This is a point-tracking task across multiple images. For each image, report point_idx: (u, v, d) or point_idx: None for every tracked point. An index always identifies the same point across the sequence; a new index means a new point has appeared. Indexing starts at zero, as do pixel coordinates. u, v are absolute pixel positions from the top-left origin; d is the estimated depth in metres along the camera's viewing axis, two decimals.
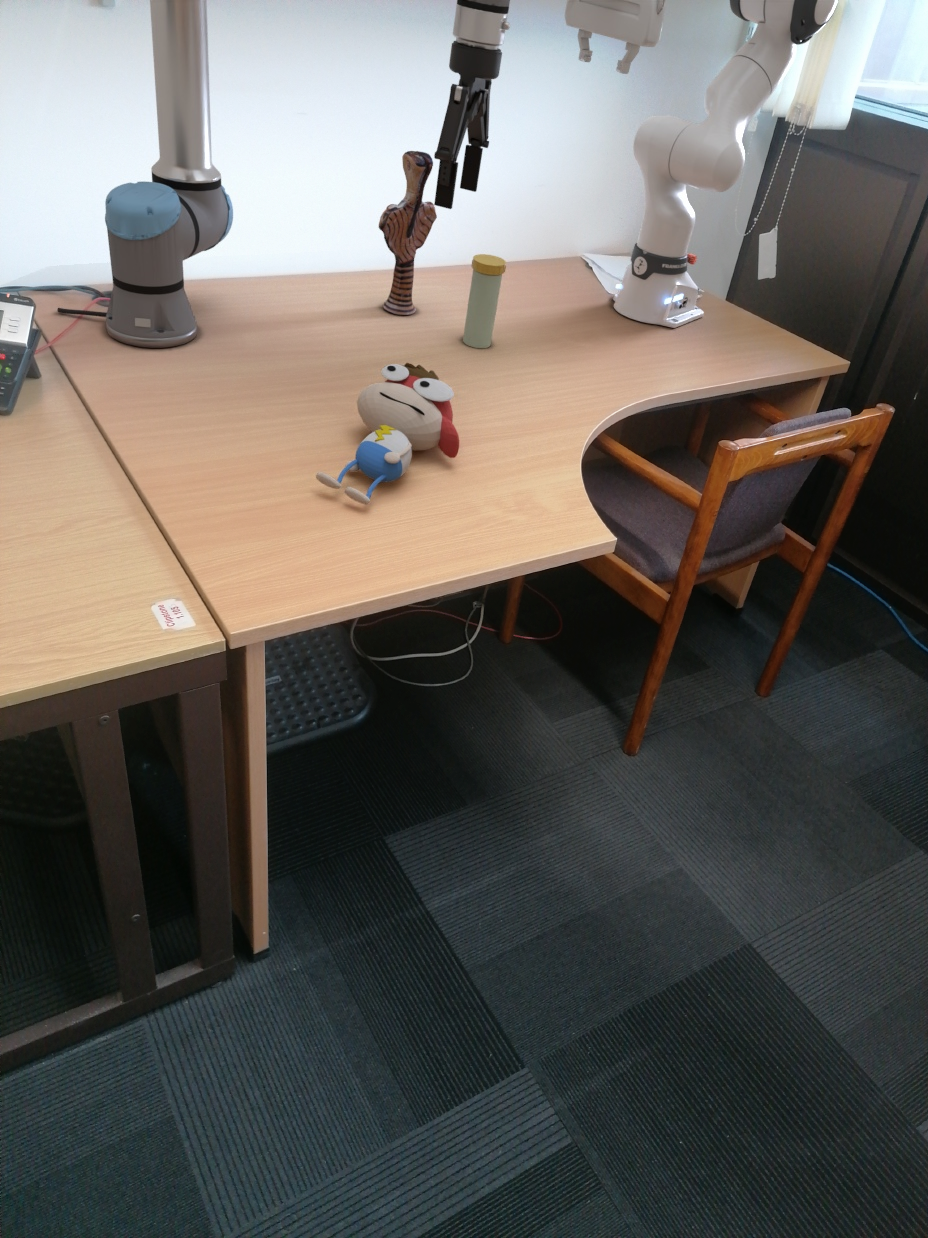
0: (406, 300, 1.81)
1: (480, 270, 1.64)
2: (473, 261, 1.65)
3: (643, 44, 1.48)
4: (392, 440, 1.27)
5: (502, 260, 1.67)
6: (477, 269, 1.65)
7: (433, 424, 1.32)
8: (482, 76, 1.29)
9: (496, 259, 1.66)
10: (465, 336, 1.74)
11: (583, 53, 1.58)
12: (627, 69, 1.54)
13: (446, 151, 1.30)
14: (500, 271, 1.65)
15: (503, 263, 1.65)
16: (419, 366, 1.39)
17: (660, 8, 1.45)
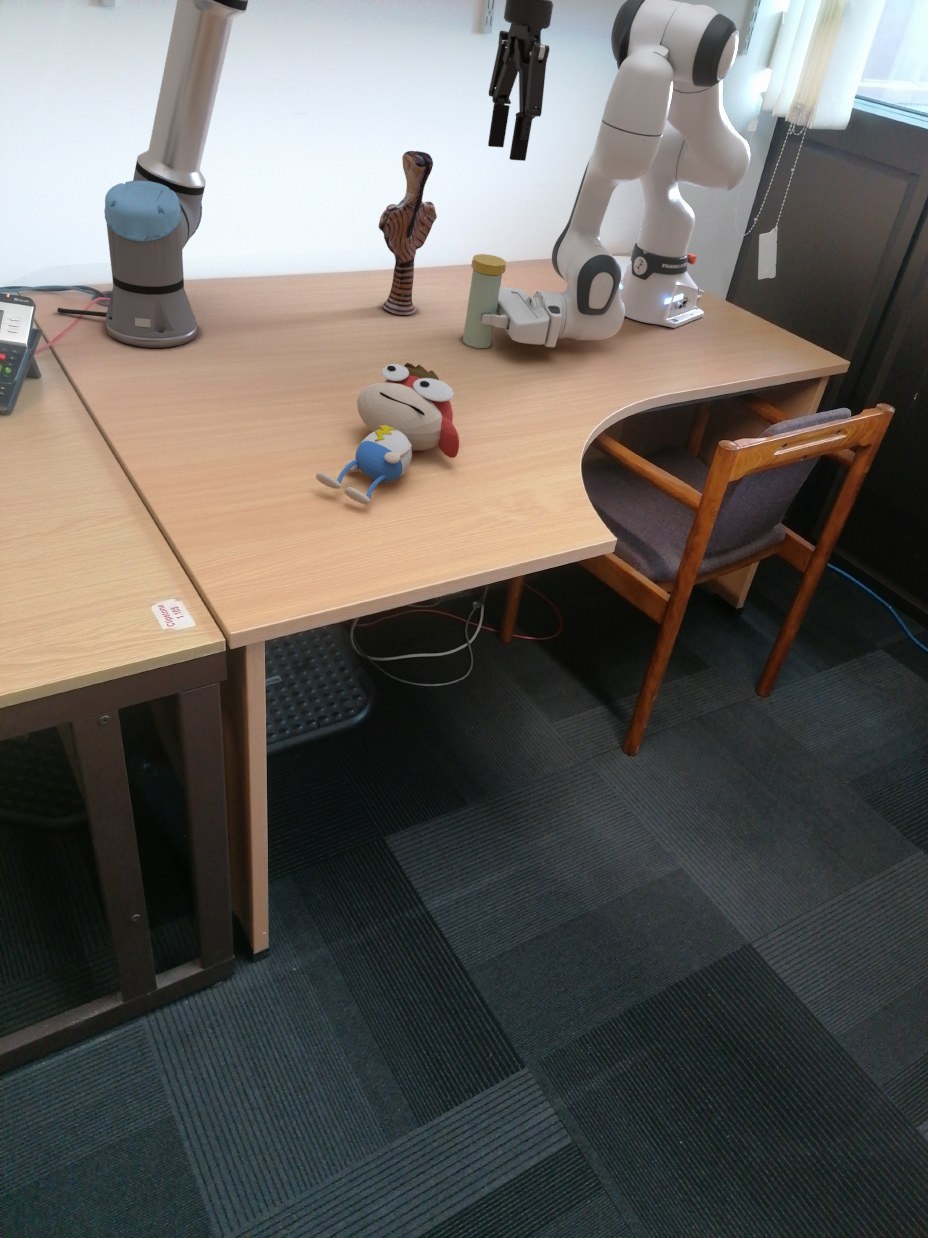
0: (406, 300, 1.81)
1: (480, 270, 1.64)
2: (473, 261, 1.65)
3: None
4: (392, 440, 1.27)
5: (502, 260, 1.67)
6: (477, 269, 1.65)
7: (433, 424, 1.32)
8: None
9: (496, 259, 1.66)
10: (465, 336, 1.74)
11: None
12: None
13: None
14: (500, 271, 1.65)
15: (503, 263, 1.65)
16: (419, 366, 1.39)
17: None
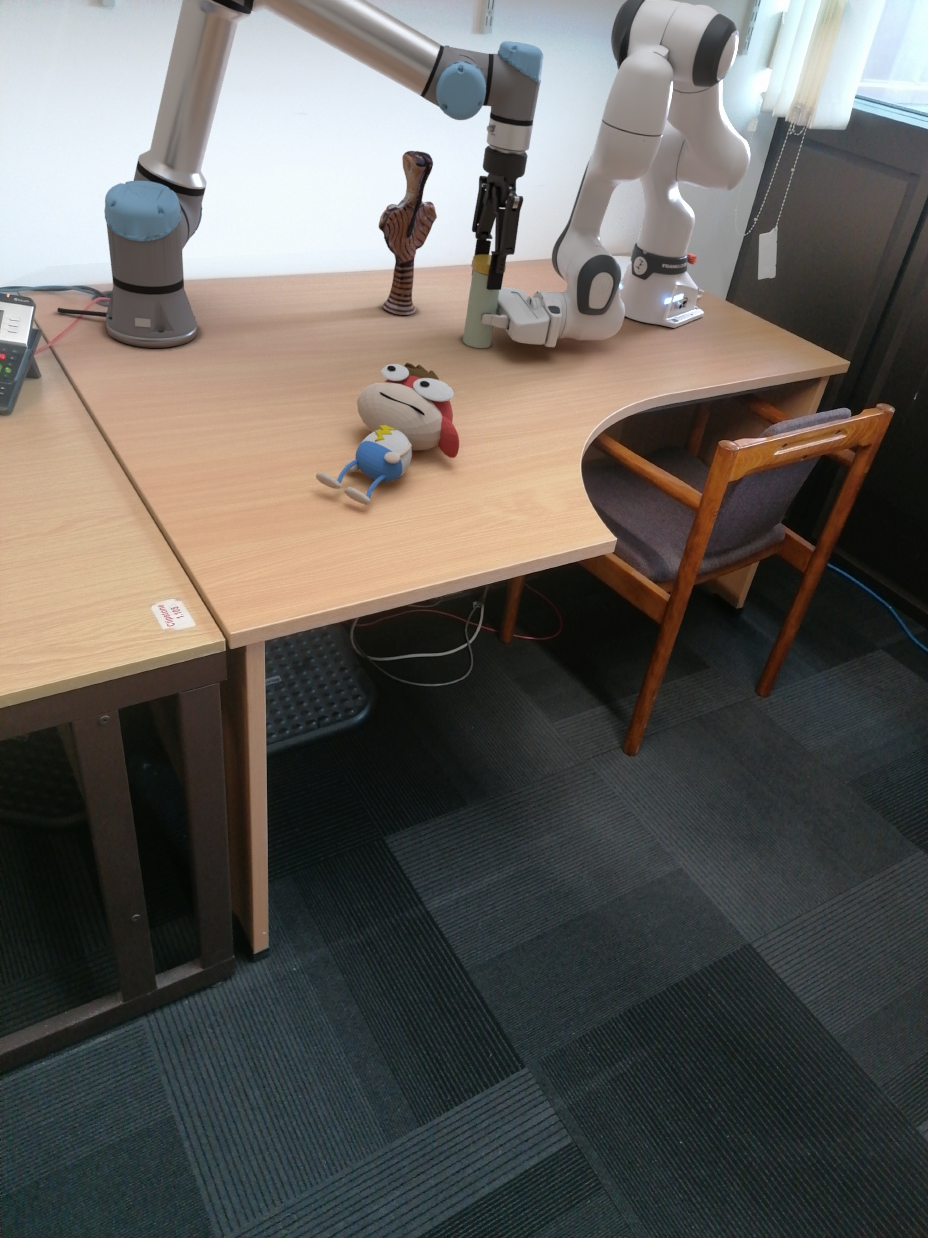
0: (406, 300, 1.81)
1: (480, 270, 1.64)
2: (473, 261, 1.65)
3: None
4: (392, 440, 1.27)
5: None
6: (477, 269, 1.65)
7: (433, 424, 1.32)
8: None
9: None
10: (465, 336, 1.74)
11: None
12: None
13: (477, 225, 1.68)
14: None
15: None
16: (419, 366, 1.39)
17: None
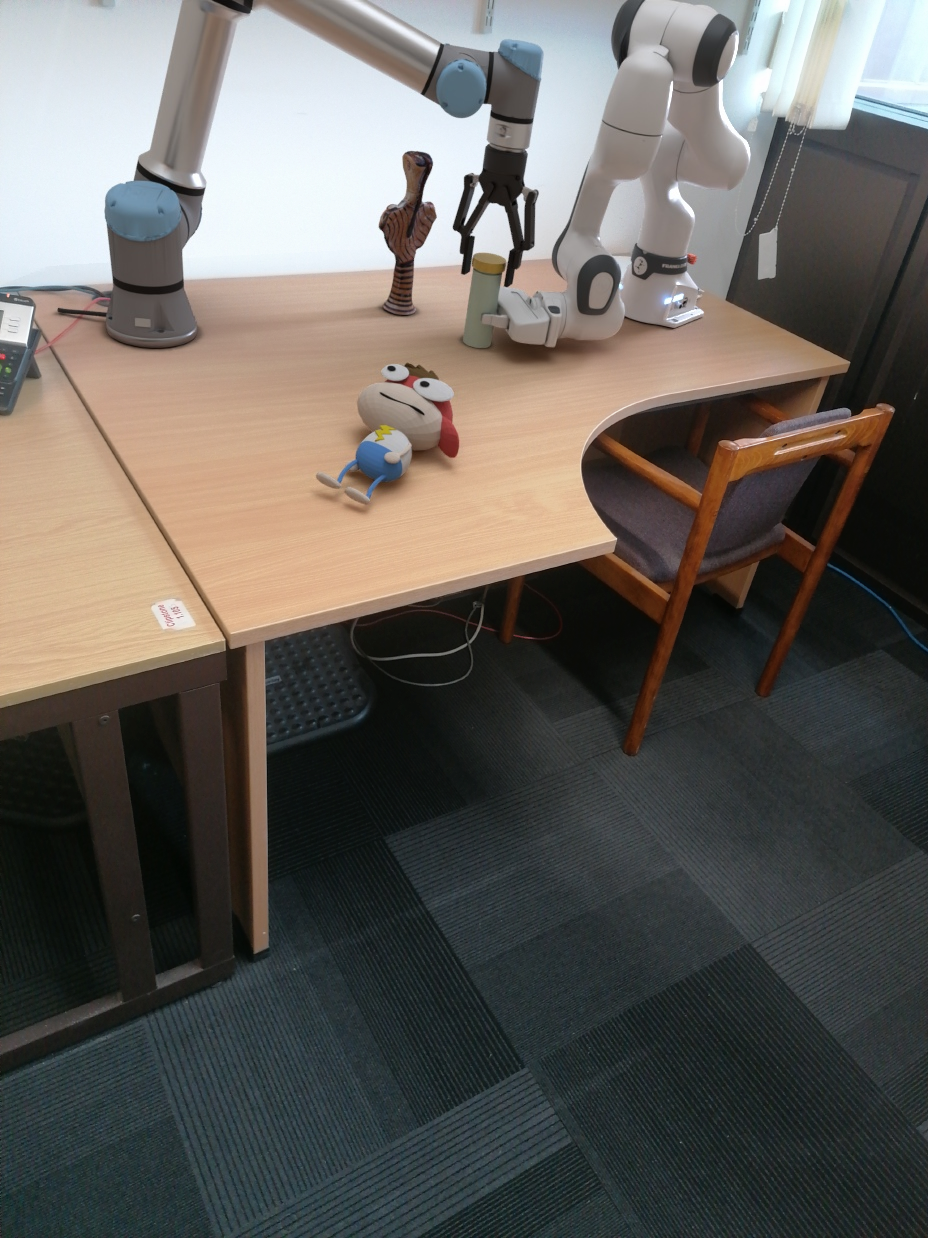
0: (406, 300, 1.81)
1: (504, 269, 1.66)
2: (496, 266, 1.64)
3: None
4: (392, 440, 1.27)
5: (483, 253, 1.67)
6: (502, 270, 1.65)
7: (433, 424, 1.32)
8: (483, 166, 1.55)
9: (485, 255, 1.67)
10: (465, 336, 1.74)
11: None
12: None
13: None
14: None
15: (492, 254, 1.68)
16: (419, 366, 1.39)
17: None
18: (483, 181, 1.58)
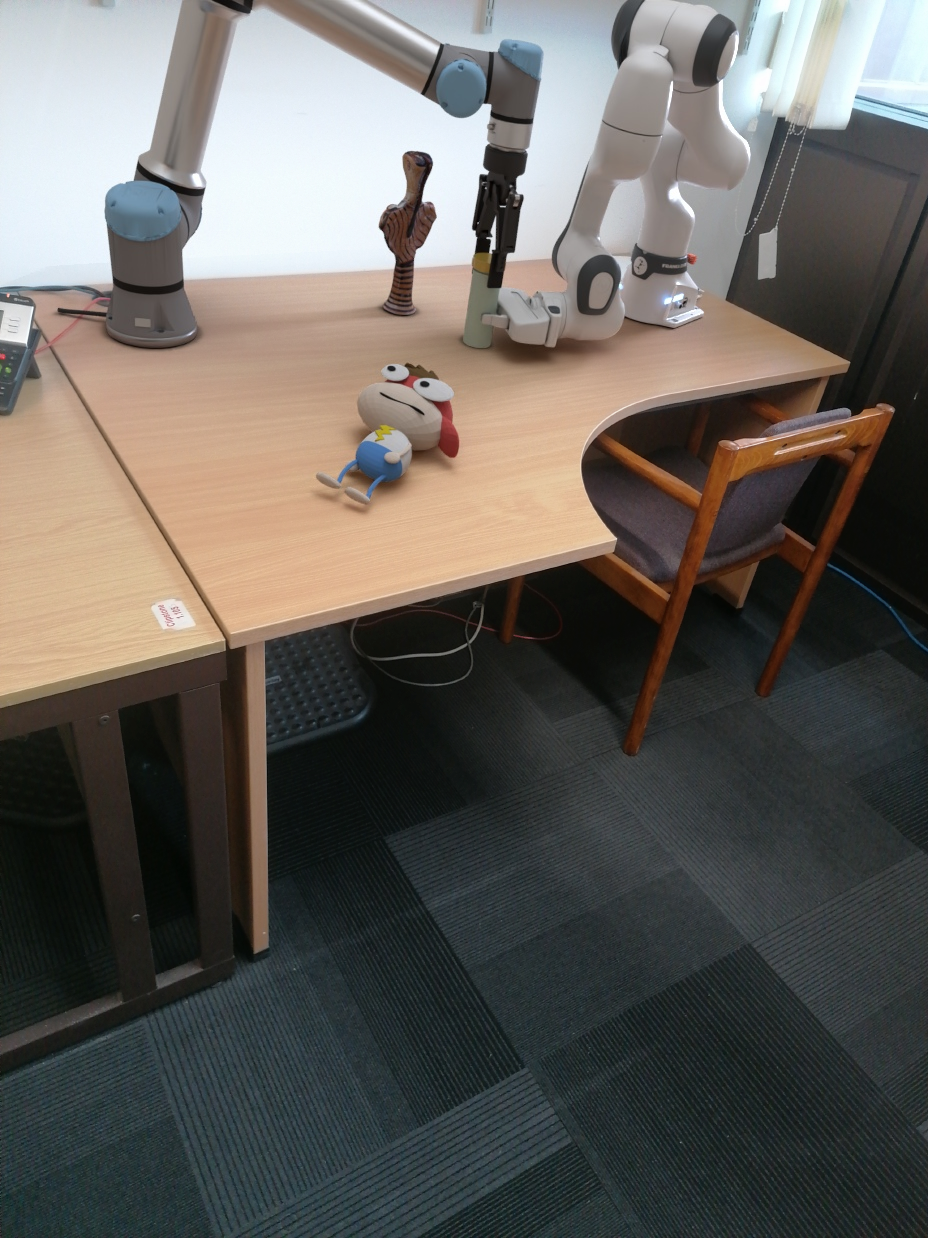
0: (406, 300, 1.81)
1: None
2: None
3: None
4: (392, 440, 1.27)
5: (483, 253, 1.67)
6: None
7: (433, 424, 1.32)
8: None
9: (485, 255, 1.67)
10: (465, 336, 1.74)
11: None
12: None
13: None
14: None
15: None
16: (419, 366, 1.39)
17: None
18: (488, 179, 1.59)
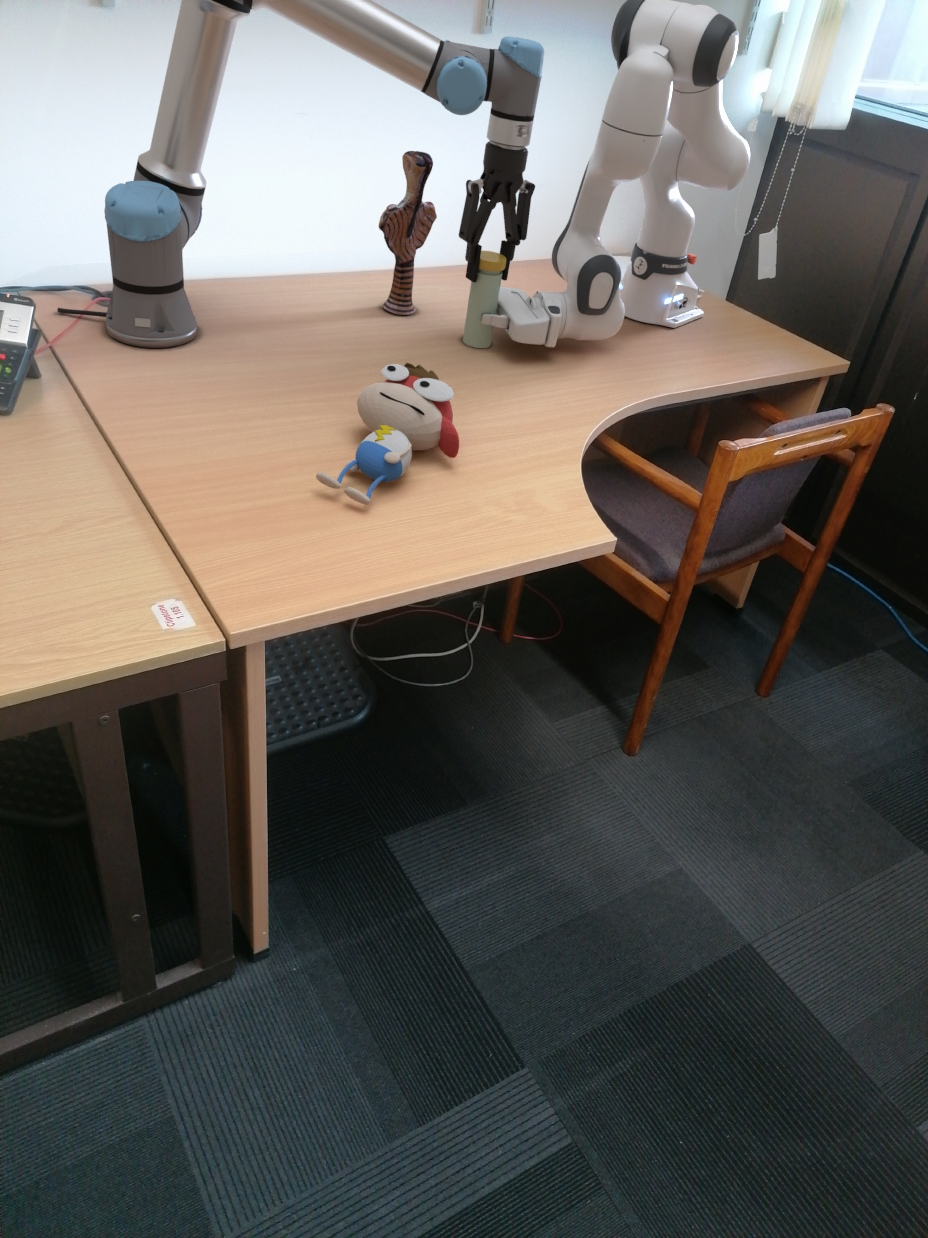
0: (406, 300, 1.81)
1: None
2: None
3: None
4: (392, 440, 1.27)
5: None
6: None
7: (433, 424, 1.32)
8: (496, 169, 1.53)
9: (483, 256, 1.64)
10: (465, 336, 1.74)
11: None
12: None
13: (464, 234, 1.59)
14: None
15: None
16: (419, 366, 1.39)
17: None
18: (491, 183, 1.55)
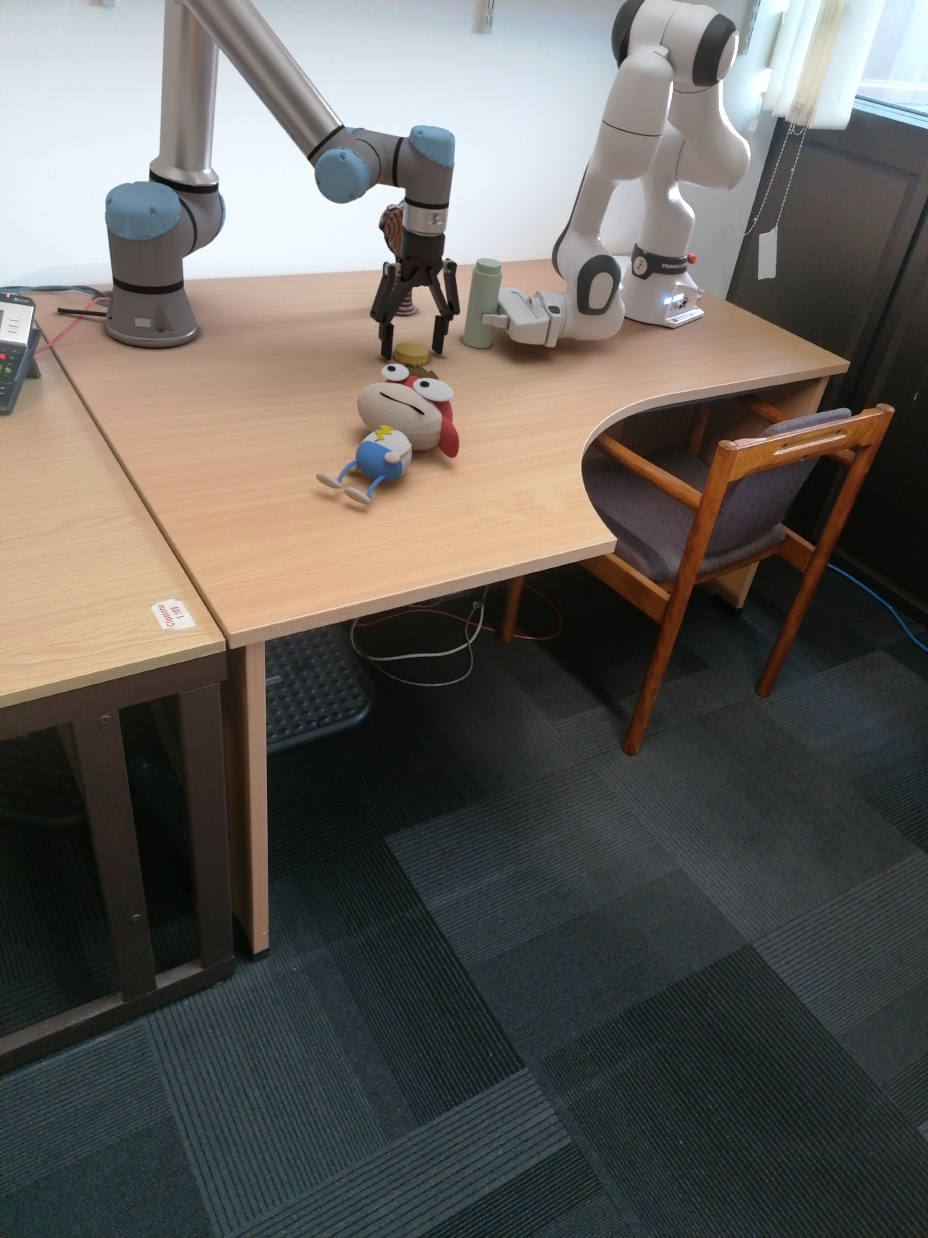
0: (406, 300, 1.81)
1: None
2: None
3: None
4: (392, 440, 1.27)
5: (399, 350, 1.63)
6: None
7: (433, 424, 1.32)
8: (413, 256, 1.51)
9: (405, 350, 1.63)
10: (465, 336, 1.74)
11: None
12: None
13: (374, 314, 1.56)
14: None
15: (397, 346, 1.64)
16: (419, 366, 1.39)
17: None
18: (408, 269, 1.53)
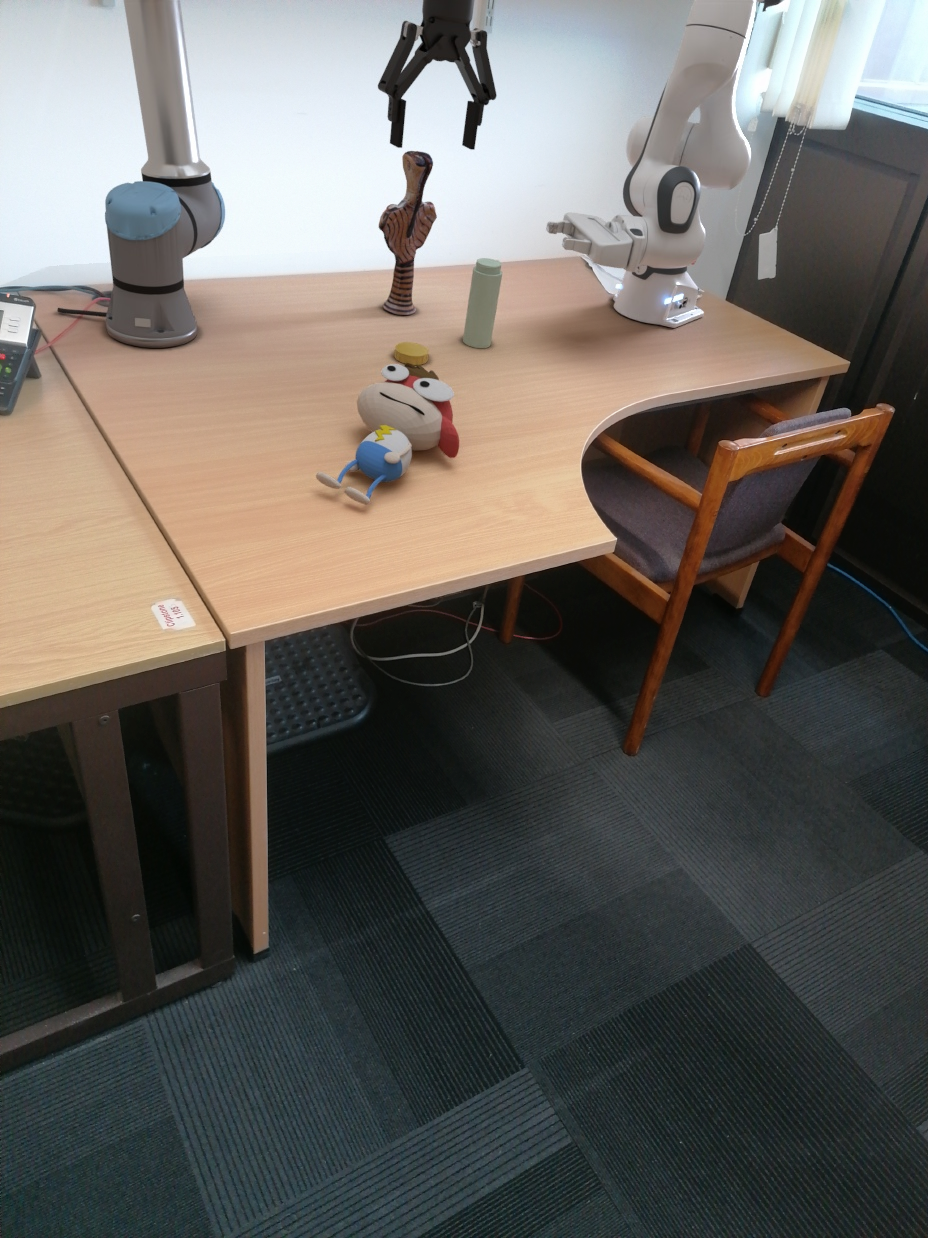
0: (406, 300, 1.81)
1: None
2: None
3: None
4: (392, 440, 1.27)
5: (399, 350, 1.63)
6: None
7: (433, 424, 1.32)
8: (437, 16, 1.29)
9: (405, 350, 1.63)
10: (465, 336, 1.74)
11: None
12: None
13: (384, 84, 1.33)
14: None
15: (397, 346, 1.64)
16: (419, 366, 1.39)
17: None
18: (430, 35, 1.32)
